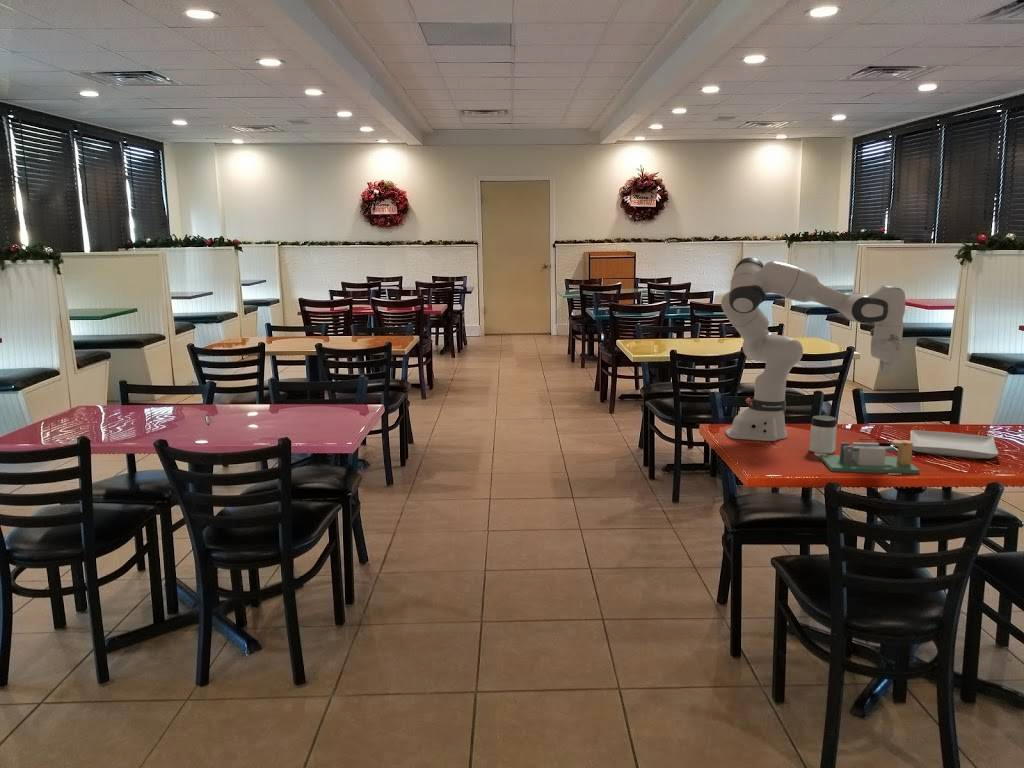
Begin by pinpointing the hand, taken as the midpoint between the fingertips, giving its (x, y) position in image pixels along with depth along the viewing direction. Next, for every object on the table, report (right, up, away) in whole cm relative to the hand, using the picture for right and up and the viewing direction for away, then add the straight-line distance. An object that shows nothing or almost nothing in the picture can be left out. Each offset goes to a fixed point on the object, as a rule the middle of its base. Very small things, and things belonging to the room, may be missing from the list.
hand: (884, 373), depth 274 cm
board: (-10, -31, -10) cm, 34 cm away
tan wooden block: (-1, -30, -12) cm, 32 cm away
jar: (-18, -28, +9) cm, 34 cm away
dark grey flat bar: (-10, -26, -11) cm, 30 cm away
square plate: (+28, -28, +10) cm, 41 cm away
